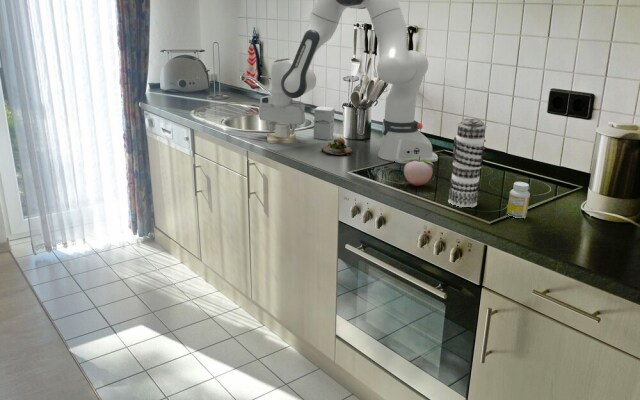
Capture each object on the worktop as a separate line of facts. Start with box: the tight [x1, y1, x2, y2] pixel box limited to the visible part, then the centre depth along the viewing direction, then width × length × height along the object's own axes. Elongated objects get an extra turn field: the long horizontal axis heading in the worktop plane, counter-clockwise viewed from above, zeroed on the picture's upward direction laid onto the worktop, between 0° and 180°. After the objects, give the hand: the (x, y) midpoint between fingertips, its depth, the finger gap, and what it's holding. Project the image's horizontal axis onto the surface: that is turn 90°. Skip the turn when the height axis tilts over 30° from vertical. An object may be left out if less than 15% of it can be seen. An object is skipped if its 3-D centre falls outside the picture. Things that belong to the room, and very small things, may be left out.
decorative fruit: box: [403, 156, 435, 187], centre depth 179 cm, size 9×8×10 cm
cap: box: [274, 122, 291, 138], centre depth 233 cm, size 6×6×5 cm
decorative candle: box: [447, 118, 488, 208], centre depth 164 cm, size 9×9×25 cm
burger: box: [321, 133, 353, 157], centre depth 216 cm, size 12×12×8 cm
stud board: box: [266, 132, 298, 144], centre depth 233 cm, size 12×12×4 cm
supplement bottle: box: [506, 181, 531, 219], centre depth 157 cm, size 5×5×10 cm
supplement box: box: [313, 106, 336, 141], centre depth 237 cm, size 7×7×13 cm
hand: (281, 132), depth 233 cm, fingers open, 8 cm apart
